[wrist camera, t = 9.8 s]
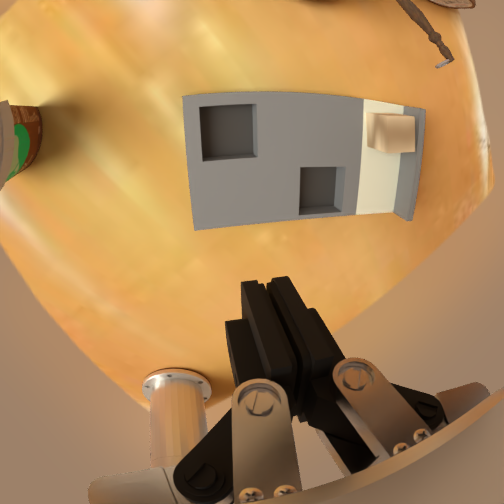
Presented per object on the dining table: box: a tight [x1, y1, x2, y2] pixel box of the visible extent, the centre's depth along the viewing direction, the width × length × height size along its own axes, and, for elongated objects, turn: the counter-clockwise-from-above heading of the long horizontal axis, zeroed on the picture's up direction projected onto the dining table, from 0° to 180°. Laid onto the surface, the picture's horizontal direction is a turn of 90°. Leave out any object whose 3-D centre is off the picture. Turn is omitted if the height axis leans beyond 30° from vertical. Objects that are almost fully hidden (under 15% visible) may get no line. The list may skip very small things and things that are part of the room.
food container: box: [0, 100, 42, 190], centre depth 19 cm, size 12×6×10 cm, turn 118°
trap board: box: [182, 92, 426, 231], centre depth 28 cm, size 14×26×6 cm, turn 92°
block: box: [366, 113, 415, 153], centre depth 26 cm, size 4×4×4 cm
